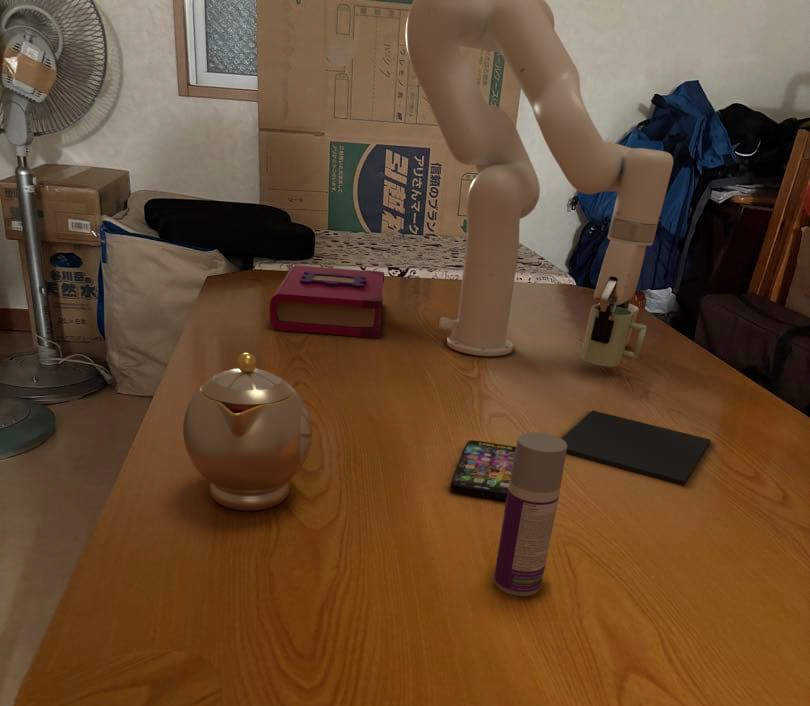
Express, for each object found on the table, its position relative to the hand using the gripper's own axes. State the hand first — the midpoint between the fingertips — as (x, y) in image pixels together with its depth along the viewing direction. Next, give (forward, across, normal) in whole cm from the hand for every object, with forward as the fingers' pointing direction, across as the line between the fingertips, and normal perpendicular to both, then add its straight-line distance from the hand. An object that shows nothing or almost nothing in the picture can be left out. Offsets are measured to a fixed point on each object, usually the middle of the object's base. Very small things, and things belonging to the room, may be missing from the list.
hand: (606, 336), depth 138 cm
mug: (+4, 0, +1) cm, 5 cm away
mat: (+6, +32, +15) cm, 36 cm away
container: (+6, +76, +15) cm, 78 cm away
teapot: (+7, +76, -18) cm, 78 cm away
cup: (+7, -18, -3) cm, 19 cm away
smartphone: (+7, +54, +2) cm, 54 cm away
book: (+8, +4, -56) cm, 57 cm away
